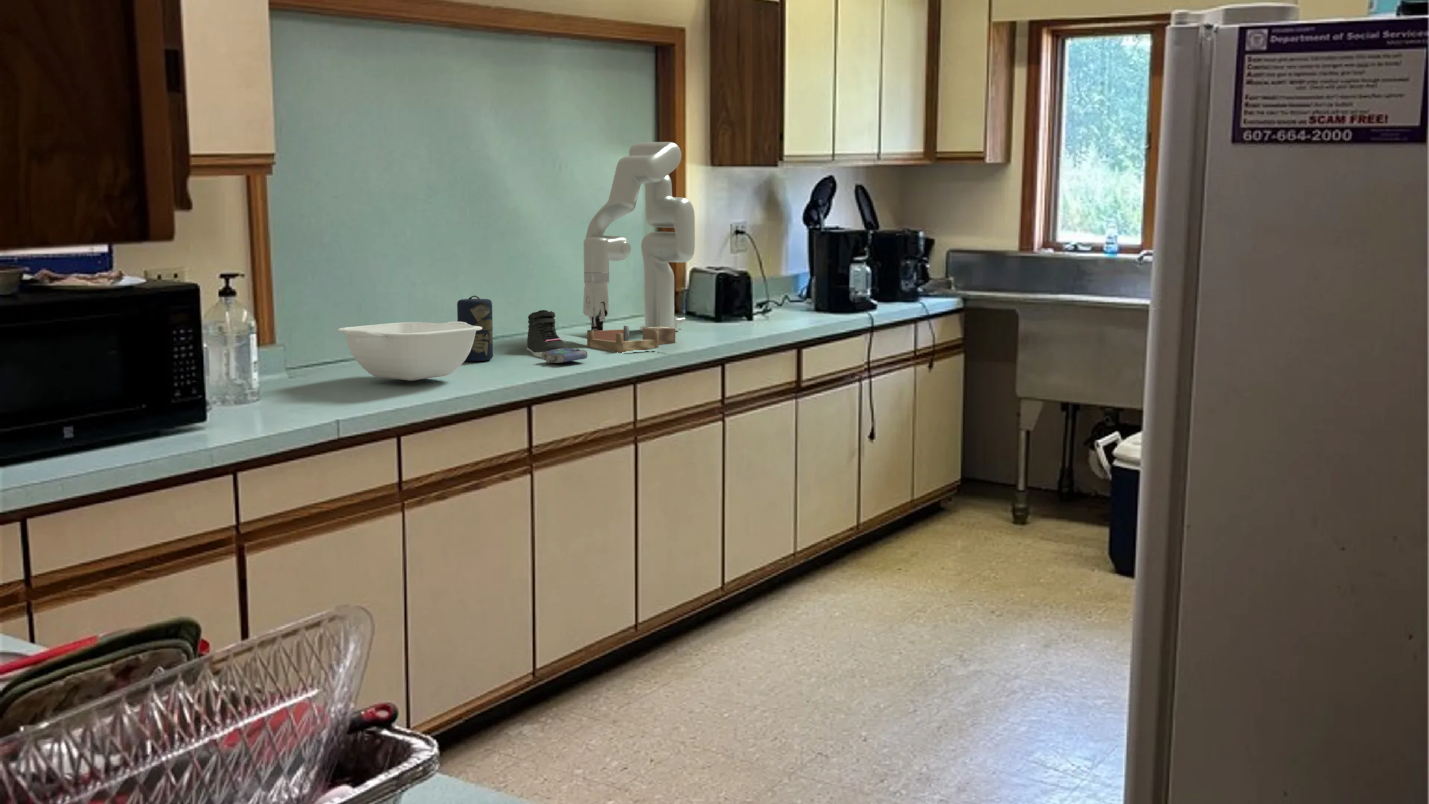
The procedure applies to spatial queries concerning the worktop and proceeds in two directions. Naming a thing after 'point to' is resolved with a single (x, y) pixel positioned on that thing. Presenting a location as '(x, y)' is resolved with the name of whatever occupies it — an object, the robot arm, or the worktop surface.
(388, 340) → the white bowl
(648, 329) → the seat block
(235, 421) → the worktop surface
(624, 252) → the robot arm
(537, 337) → the sneaker
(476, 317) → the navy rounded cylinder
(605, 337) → the rail
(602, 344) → the frame
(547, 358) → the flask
